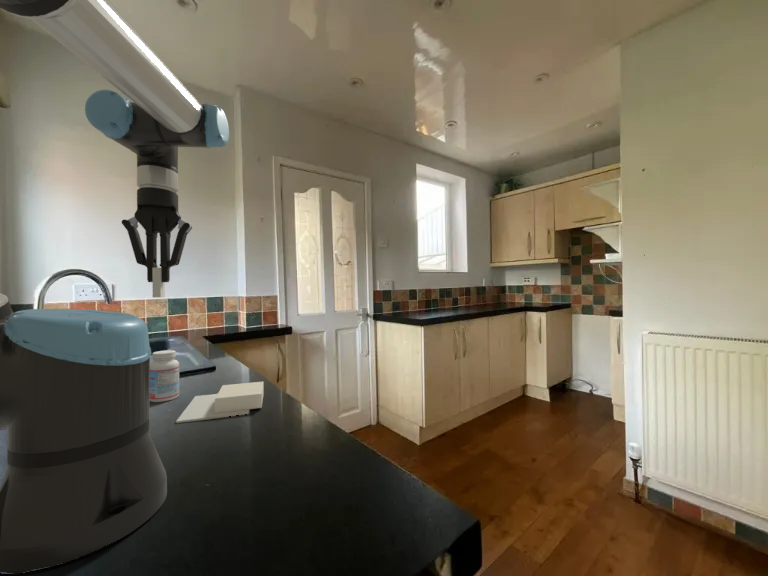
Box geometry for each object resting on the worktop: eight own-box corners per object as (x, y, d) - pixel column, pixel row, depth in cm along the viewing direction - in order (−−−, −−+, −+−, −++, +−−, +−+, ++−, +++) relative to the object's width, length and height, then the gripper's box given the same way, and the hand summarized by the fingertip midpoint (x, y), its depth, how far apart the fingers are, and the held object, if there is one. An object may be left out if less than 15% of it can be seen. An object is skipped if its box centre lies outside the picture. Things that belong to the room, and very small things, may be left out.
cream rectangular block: (214, 413, 66) (261, 407, 69) (214, 398, 66) (261, 393, 69) (222, 398, 76) (263, 394, 79) (222, 385, 76) (263, 381, 79)
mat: (248, 414, 67) (248, 412, 67) (176, 423, 63) (176, 421, 63) (253, 391, 82) (253, 390, 82) (195, 397, 78) (195, 396, 78)
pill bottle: (148, 398, 78) (148, 351, 78) (178, 393, 82) (177, 348, 82) (148, 405, 73) (148, 355, 73) (180, 399, 77) (180, 352, 77)
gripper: (195, 198, 77) (196, 296, 77) (130, 193, 73) (130, 297, 73) (187, 188, 70) (188, 297, 70) (114, 182, 66) (114, 298, 66)
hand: (158, 297), depth 71 cm, fingers closed
